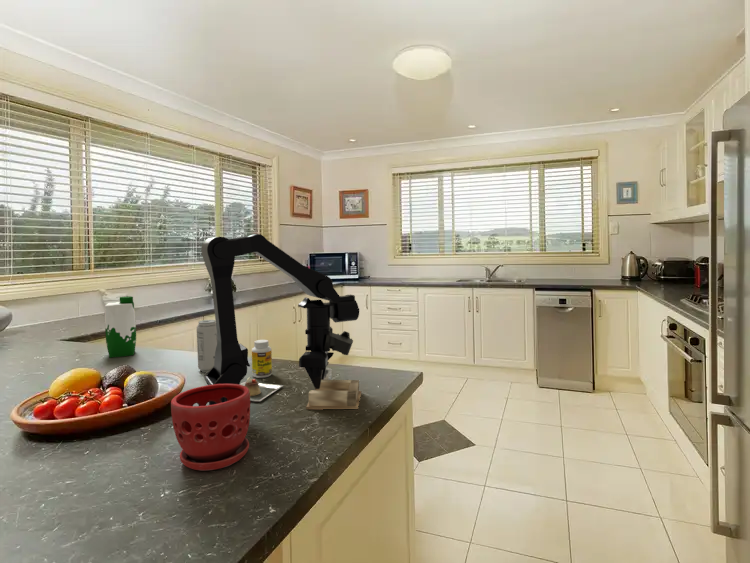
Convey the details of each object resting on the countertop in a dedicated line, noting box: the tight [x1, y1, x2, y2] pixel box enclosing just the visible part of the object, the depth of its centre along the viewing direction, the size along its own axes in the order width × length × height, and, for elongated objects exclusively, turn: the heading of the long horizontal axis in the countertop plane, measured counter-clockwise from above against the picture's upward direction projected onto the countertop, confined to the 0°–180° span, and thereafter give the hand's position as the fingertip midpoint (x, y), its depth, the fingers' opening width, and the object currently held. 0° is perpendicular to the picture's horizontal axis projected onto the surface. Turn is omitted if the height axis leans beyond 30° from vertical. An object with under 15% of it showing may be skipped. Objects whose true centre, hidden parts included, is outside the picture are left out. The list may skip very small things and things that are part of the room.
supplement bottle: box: [251, 339, 273, 379], centre depth 125 cm, size 6×6×10 cm
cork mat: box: [305, 390, 362, 410], centre depth 105 cm, size 11×12×1 cm
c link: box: [308, 379, 360, 406], centre depth 105 cm, size 11×10×3 cm
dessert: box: [240, 376, 284, 403], centre depth 111 cm, size 12×12×5 cm
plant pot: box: [170, 384, 251, 471], centre depth 77 cm, size 13×13×12 cm
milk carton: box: [104, 295, 137, 359], centre depth 149 cm, size 9×9×20 cm
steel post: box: [324, 366, 333, 380], centre depth 116 cm, size 3×3×4 cm
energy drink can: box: [196, 319, 218, 373], centre depth 130 cm, size 6×6×15 cm
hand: (319, 385), depth 109 cm, fingers open, 5 cm apart
